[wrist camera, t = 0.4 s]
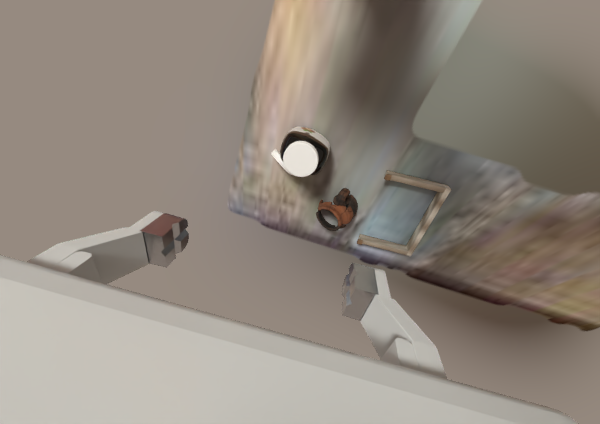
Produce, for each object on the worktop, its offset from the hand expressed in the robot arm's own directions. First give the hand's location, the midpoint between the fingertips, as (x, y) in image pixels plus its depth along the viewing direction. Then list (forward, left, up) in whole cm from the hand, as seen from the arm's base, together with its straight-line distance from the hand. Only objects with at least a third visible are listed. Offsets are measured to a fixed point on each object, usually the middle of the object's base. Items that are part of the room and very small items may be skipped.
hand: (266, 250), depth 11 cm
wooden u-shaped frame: (+19, +23, -46) cm, 55 cm away
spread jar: (+9, -4, -46) cm, 47 cm away
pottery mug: (+20, +8, -46) cm, 51 cm away
